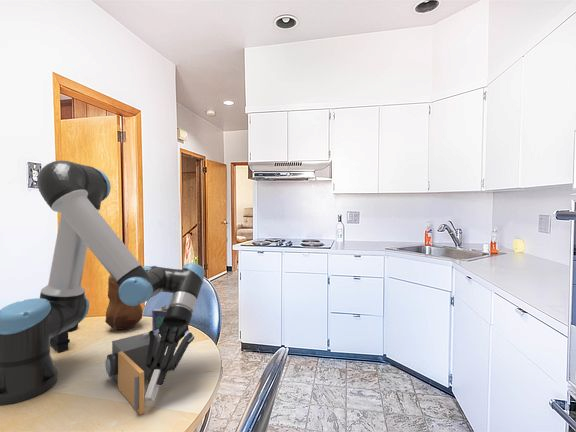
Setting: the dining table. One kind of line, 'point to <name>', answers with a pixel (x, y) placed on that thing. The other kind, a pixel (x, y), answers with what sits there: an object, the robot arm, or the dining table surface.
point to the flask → (158, 317)
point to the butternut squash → (120, 309)
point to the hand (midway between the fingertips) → (149, 399)
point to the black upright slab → (60, 342)
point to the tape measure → (73, 328)
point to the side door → (131, 381)
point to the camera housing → (130, 353)
